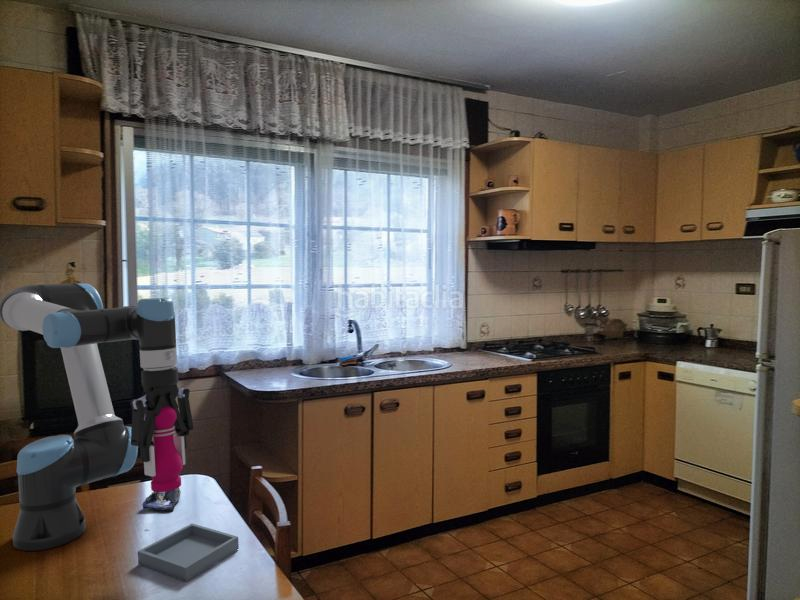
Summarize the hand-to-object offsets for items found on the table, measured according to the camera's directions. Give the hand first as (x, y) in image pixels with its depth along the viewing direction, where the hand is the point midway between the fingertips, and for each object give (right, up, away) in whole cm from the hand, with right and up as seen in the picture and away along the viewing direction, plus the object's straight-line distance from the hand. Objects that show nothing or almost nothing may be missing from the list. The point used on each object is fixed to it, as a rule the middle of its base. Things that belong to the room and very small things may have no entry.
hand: (165, 469), depth 129 cm
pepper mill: (0, -4, 0) cm, 4 cm away
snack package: (-12, -19, +29) cm, 37 cm away
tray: (+5, -20, +1) cm, 20 cm away
